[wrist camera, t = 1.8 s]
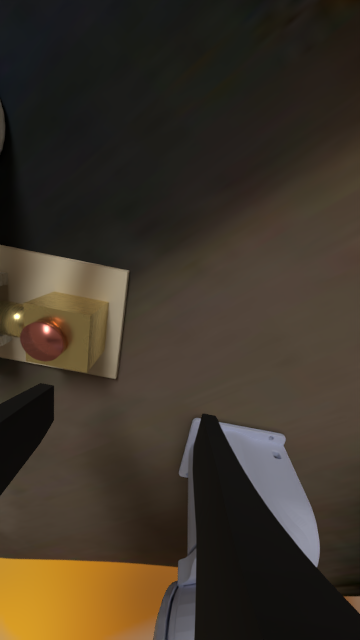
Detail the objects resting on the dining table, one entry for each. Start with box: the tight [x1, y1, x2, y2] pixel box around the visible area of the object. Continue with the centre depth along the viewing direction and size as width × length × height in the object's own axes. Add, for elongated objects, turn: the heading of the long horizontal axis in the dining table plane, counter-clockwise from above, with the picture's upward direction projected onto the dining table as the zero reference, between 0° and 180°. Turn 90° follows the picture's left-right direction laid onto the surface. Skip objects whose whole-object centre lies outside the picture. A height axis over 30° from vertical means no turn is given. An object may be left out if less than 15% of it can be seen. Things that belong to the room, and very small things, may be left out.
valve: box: [0, 291, 109, 373], centre depth 17 cm, size 8×4×4 cm, turn 79°
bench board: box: [0, 245, 130, 379], centre depth 19 cm, size 19×10×1 cm, turn 79°
